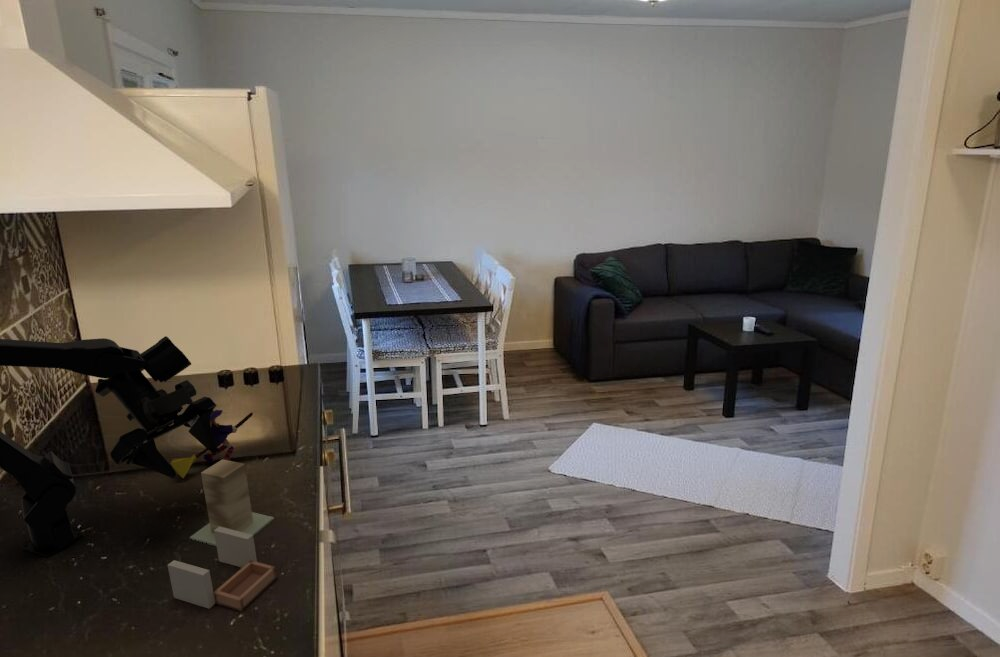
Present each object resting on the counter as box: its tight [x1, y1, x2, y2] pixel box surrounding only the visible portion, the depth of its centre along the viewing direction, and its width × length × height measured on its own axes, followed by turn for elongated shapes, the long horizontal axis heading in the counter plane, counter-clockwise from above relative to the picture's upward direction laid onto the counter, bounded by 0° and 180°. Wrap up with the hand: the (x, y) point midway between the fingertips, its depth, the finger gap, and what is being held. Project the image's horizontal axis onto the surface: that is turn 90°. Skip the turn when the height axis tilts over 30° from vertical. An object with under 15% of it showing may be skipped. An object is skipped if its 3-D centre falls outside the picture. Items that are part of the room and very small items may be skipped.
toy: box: [170, 409, 254, 479], centre depth 132 cm, size 8×19×15 cm, turn 118°
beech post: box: [200, 459, 253, 533], centre depth 111 cm, size 5×5×12 cm
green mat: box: [189, 511, 275, 547], centre depth 113 cm, size 10×10×1 cm
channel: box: [167, 526, 258, 609], centre depth 99 cm, size 7×10×6 cm
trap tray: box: [213, 560, 278, 612], centre depth 97 cm, size 5×8×2 cm, turn 159°
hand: (196, 464), depth 111 cm, fingers open, 9 cm apart
